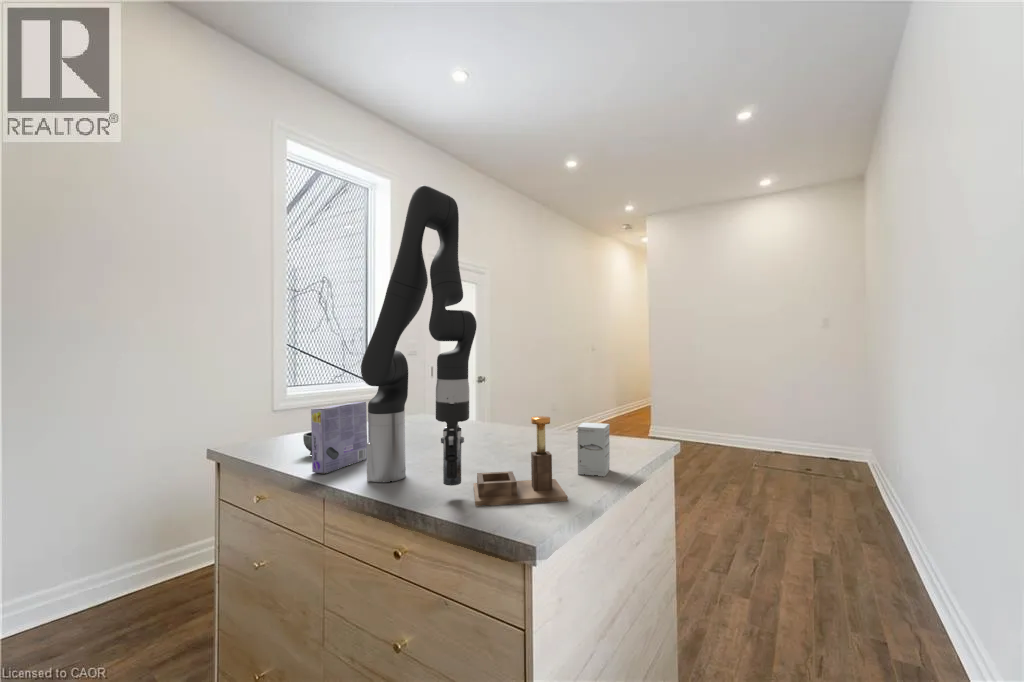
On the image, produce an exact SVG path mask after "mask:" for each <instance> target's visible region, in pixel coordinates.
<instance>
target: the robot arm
mask: <svg viewBox="0 0 1024 682" xmlns="http://www.w3.org/2000/svg"><path fill="white" fill-rule="evenodd" d="M459 219H460V218H459V206H458V203H457V202H456V200H455V199H454V198H453V197H452V196H450V195H448V194H447V193H444V192H443V191H439V190H437V189H436V188H433V187H431V186H429V185H426V184H423V185H420V186H418V187H416V189H415V191H414V192H413V193H412V195H411V198H410V200H409V203H408V207H407V211H406V217H405V221H404V226H403V231H402V236H401V241H400V245H399V249H398V253H397V255H396V256H397V257H396V259H395V263H394V265H393V266H394V267H393V269H392V273H391V275H390V277H389V278H390V279H389V280H388V285H387V288H386V292H385V295H384V299H383V302H382V306H381V310H380V311H379V315H378V318H377V321H376V325H375V328H374V330H373V333H372V335H371V337H370V340H369V342H368V345H367V347H366V350H365V351H364V354H363V357H362V360H361V365H360V373H361V377H362V380H363V382H364V383H365V384H366V385H367V386H370V387H378V388H377V392H376V394H375V395H374V396H373V397H372V398H371V399H370V400H369V401H368V404H367V459H366V481H367V482H373V483H391V482H390V481H392V482H396V481H401V480H403V479H405V478H406V475H407V474H406V471H407V468H406V419H405V418H406V417H405V416H406V414H405V413H406V412H405V411H406V410H405V409H406V408H405V405H406V402H407V400H408V394H409V365H408V360H407V358H406V356H405V354H404V353H402V352H401V351H399V350H397V346H398V342H399V339H400V338H401V336H402V334H403V333H404V331H405V330H406V329H407V327H408V326H409V324H411V322H412V321H413V319H415V317H416V315H417V314H418V313H419V311H420V309H421V308H422V307H421V306H422V304H423V301H424V297H425V294H426V291H427V288H428V284H429V280H430V285H431V293H432V301H431V303H432V304H431V305H432V306H431V312H430V317H429V322H428V330H429V334H430V336H431V338H433V339H434V340H435V341H438V342H456V345H455V347H454V349H452V350H449V351H445V352H440V353H439V354H438V355H437V359H436V384H435V385H436V386H435V420H436V421H438V422H440V423H442V422H443V423H444V422H445V423H446V427H445V426H444V427H443V430H442V432H443V433H442V437H444V450H445V454H446V457H445V459H446V462H447V478H448V479H455V478H456V477H457V460H458V457H457V452H458V450H459V449H460V437H462V427H461V426H460V425H459V422H467V421H468V420H469V419H470V383H469V361H470V355H471V350H472V347H473V343H474V339H475V336H476V332H477V320H476V317H475V316H474V314H473V313H472V312H471V311H469V310H461V309H459V310H458V309H457V310H456V309H447V308H446V307H451V306H455V305H457V304H459V303H460V302H462V300H463V298H464V290H463V284H462V283H463V282H462V277H461V271H460V263H459V235H460V234H459V233H460V232H459V230H460V229H459V227H460V225H459ZM426 228H427V229H430V230H433V231H436V232H437V234H438V239H439V247H438V250H437V251H436V252H435V255H434V256H433V259H432V261H431V265H430V269H429V276H428V271H427V267H426V262H425V259H424V254H423V240H424V235H425V230H426ZM428 277H430V278H429V279H428ZM449 452H455V455H449Z"/></svg>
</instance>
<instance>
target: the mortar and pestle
mask: <svg viewBox="0 0 1024 682" xmlns="http://www.w3.org/2000/svg"><path fill="white" fill-rule="evenodd" d="M303 445H304V446H305V448H306V449H307V450H308V452H310V453H309V456H310V455H312V431H310V432H306V433H303Z"/></svg>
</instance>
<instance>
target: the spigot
mask: <svg viewBox="0 0 1024 682" xmlns="http://www.w3.org/2000/svg"><path fill="white" fill-rule="evenodd" d="M440 443H441V444H443V446H442V447H443V453H442V454H443V457H442V459H443V461H442V462H443V467H442V468H443V469H442V470H443V473H442V474H443V475H442V477H443V478H442V479H443V480H442V481H443V482H442V483H443V485H445V486H450V487H451V486H458V485H461V484H462V444H463V443H465V437H463V436H461V437H460V449H459V450H458V452H457V457H458V460H457V477H456V478H455V479H448V478H447V462H446V459H445V457H446V454H445V450H444V437H443V436H442V437H440ZM449 455H455V452H449Z"/></svg>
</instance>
